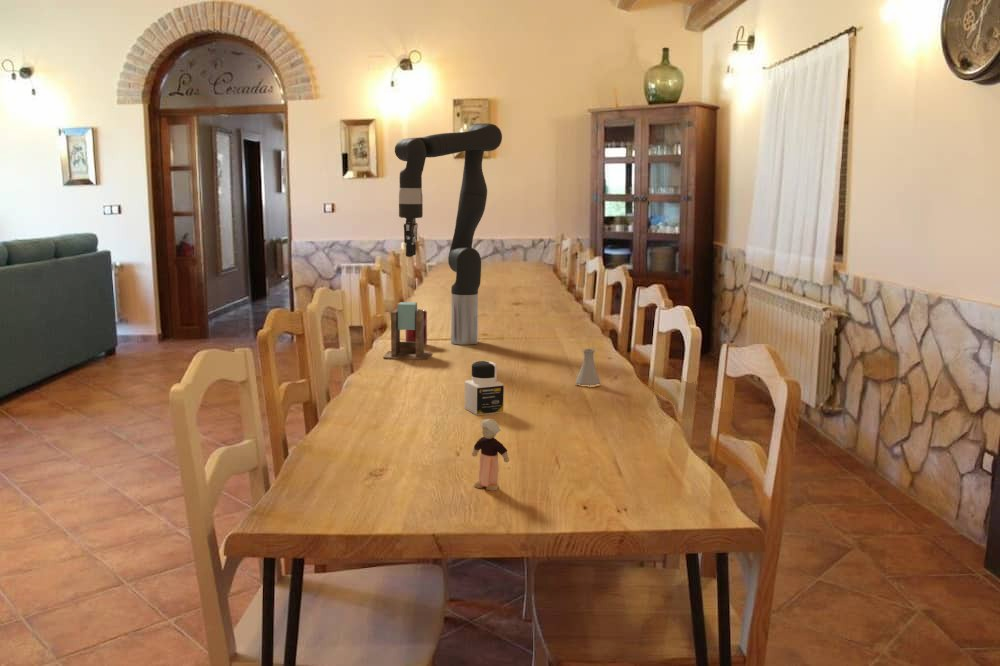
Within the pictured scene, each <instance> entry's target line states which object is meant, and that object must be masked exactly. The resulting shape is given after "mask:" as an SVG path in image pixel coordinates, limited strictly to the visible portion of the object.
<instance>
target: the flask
mask: <svg viewBox="0 0 1000 666" xmlns="http://www.w3.org/2000/svg"><path fill="white" fill-rule="evenodd" d="M595 352H596V351H595V349H593V348H584V349H583V353H584V354H583V361H582V364H581V367H580V370H579V373H578V376H577V378H576V380H575V383H576V384H580V385H589V386H590V385H596V384H600V385H601V381H600V378H599V374H598V371H597V368H596V364H595V358H594V354H595Z"/></svg>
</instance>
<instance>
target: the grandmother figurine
mask: <svg viewBox="0 0 1000 666" xmlns="http://www.w3.org/2000/svg"><path fill="white" fill-rule="evenodd" d="M480 426H481V429H482V430H481V434H482V437H480V438H479V439H478V440H477V441H476V443H475V444H474V445H473V450H472V452H471V456H472V457H477V456H478V453H479V451H480V455H479V469H478V481H476V482H475V483H474V485H473V487H475V488H477V489H482V488H485V489H486V491H493V492H494V491H497V490H498V489H499V488H500V486H499V484H498V482H499V481H498V480H499V479H498V478H499V477H498V476H499V459H498V455H500V456H501V457H502V459H503V461H504V463H508V462H509V461H510V457H509V454H508V449H507V448H506V447H505V446H504V444H503V443H501V442H500V441H499V440H498V439H496V438H495V437H496V435H497V434H498V433H499V432H500V431H501V429H500V425H498V423H497V422H496V420H495V419H493V418H485V419H483V420H482V421H481V425H480Z"/></svg>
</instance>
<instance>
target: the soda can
mask: <svg viewBox="0 0 1000 666" xmlns="http://www.w3.org/2000/svg"><path fill="white" fill-rule="evenodd" d="M419 309H420V308H417V311H418V310H419ZM405 342H416V329H415V330H405ZM427 343H428V311H427V310H426V309H424V347H425V346H426V345H427Z"/></svg>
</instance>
